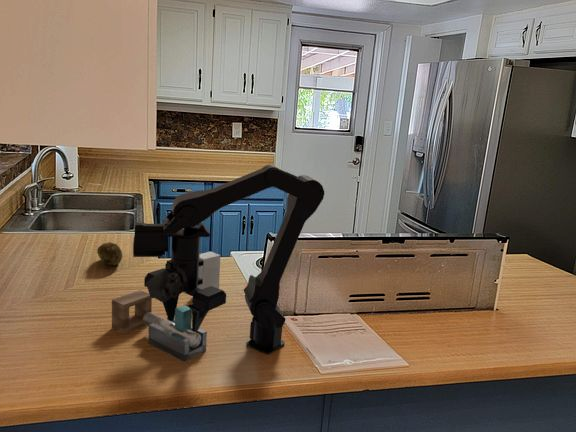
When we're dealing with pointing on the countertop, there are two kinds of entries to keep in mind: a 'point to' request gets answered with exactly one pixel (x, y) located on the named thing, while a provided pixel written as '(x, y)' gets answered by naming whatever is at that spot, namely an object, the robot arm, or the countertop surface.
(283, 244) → the robot arm
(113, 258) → the potato
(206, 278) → the skincare box
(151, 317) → the rod
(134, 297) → the socket block
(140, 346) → the countertop surface
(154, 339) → the channel
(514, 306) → the countertop surface
